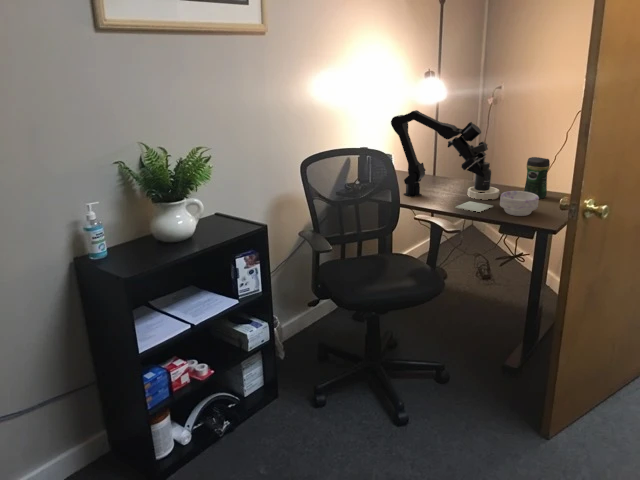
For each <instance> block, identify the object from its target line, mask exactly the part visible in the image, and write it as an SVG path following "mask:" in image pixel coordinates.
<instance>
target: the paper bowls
mask: <svg viewBox="0 0 640 480" xmlns="http://www.w3.org/2000/svg"><path fill="white" fill-rule="evenodd" d="M499 197H500V200H499V206H500V207H501V208H503V210H504V212H505V213H506V214H508V215H511V216H515V217H525V216H526V217H527V216H529V215H530V214H532V212H533V211H535V210H537V209H538V208H539V201H540V198H539V197H538V195H536V194H533V193H530V192H524V190H523V191H522V190H510V191H504V192H502V193H500V195H499Z"/></svg>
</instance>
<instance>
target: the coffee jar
mask: <svg viewBox="0 0 640 480" xmlns="http://www.w3.org/2000/svg"><path fill="white" fill-rule="evenodd" d="M525 167H526V179H525V183H524V184H525V185H524V190H523V191H524V192H530V193H533V194H536V195H538V197H539V199H542V200H543V199H545V198H546V197H547V192H548V190H547V189H548V186H547V185H548V183H547V182H548V180H547V179H548V172H549V170H550V168H551V167H550V159H549V158H546V157H540V156H539V157H537V156H531V157H529V158H527V162H526V166H525Z"/></svg>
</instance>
